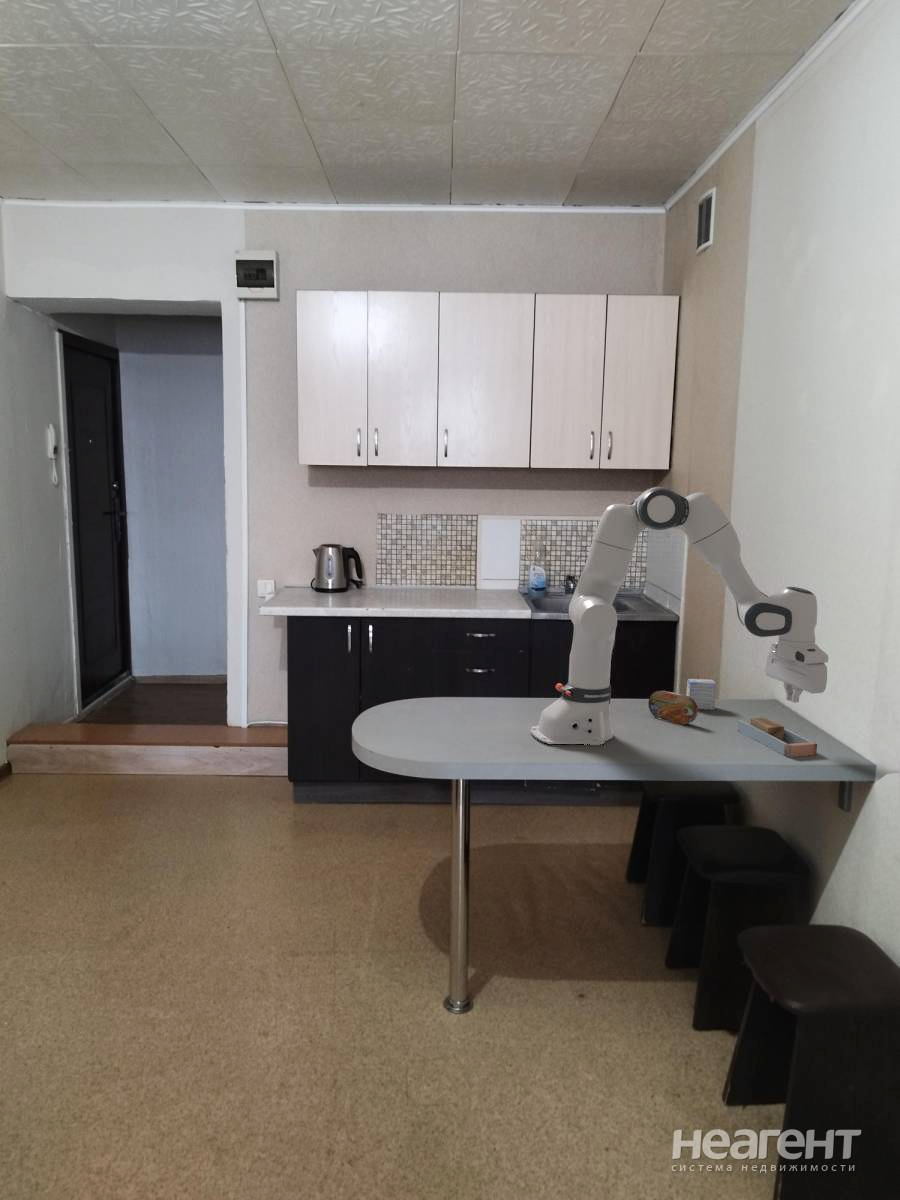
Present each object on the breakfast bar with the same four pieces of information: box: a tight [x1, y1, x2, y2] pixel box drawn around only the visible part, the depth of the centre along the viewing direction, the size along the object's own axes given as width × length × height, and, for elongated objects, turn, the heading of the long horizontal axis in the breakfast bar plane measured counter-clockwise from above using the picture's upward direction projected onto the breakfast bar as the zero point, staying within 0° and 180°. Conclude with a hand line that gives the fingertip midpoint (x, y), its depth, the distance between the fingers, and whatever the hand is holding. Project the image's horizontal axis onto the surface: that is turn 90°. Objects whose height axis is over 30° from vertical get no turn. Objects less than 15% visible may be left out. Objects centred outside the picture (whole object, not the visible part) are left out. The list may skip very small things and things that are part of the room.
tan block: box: [749, 717, 785, 742], centre depth 223 cm, size 5×8×4 cm, turn 13°
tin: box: [647, 690, 699, 725], centre depth 237 cm, size 15×3×8 cm, turn 44°
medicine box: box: [685, 678, 717, 711], centre depth 250 cm, size 8×4×9 cm, turn 84°
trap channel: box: [737, 719, 818, 758], centre depth 219 cm, size 9×22×3 cm, turn 14°
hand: (792, 701), depth 213 cm, fingers closed
